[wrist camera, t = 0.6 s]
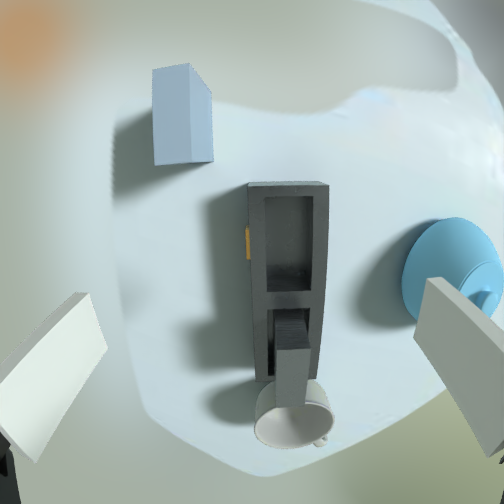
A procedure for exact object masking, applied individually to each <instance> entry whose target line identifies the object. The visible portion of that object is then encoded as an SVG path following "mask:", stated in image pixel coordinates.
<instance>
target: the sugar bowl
mask: <svg viewBox="0 0 504 504" xmlns="http://www.w3.org/2000/svg"><path fill="white" fill-rule="evenodd" d="M435 277H442V278H444V279H445V280H446V281H447V282H449V283H450V284H451V285H452V286H453V287H455V288H456V289H457V290H458V291H459V292H461V293H462V294H463V295H464V296H465V297H466V298H468V299H469V300H470V301H471V302H472V303H473V304H474V305H476V306H477V307H478V308H479V309H480V310H481V311H482V312H483V313H485V314H486V315H487V316H488V317H489V318H490V317H491V316H492V314H493V313H494V311H495V310H496V308H497V306H498V304H499V302H500V299H501V296H502V293H503V288H504V273H503V268H502V264H501V262H500V259H499V256H498V254H497V251H496V249H495V247H494V245H493V243H492V242H491V240H490V239H489V237H488V236H487V235H486V234H485V233H484V232H483V231H482V230H481V229H480V228H479V227H478V226H476V225H475V224H473V223H472V222H470V221H468V220H465V219H463V218H458V217H455V218H447V219H443V220H441V221H438V222H437V223H435V224H433V225H432V226H430V227H429V228H428V229H427V230H426V231H425V232H424V233H423V234H422V235H421V236H420V237H419V238H418V240H417V241H416V243H415V244H414V246H413V247H412V249H411V251H410V253H409V255H408V258H407V260H406V263H405V266H404V270H403V275H402V296H403V300H404V304H405V306H406V308H407V310H408V312H409V313H410V314H411V315H412V316H413V317H414V318H415V319H416V320H417V321H418V317H419V313H420V308H421V304H422V299H423V294H424V289H425V284H426V279H427V278H435Z"/></svg>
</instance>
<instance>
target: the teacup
mask: <svg viewBox="0 0 504 504" xmlns="http://www.w3.org/2000/svg"><path fill="white" fill-rule="evenodd" d="M334 421H335V418H334V414H333V412H332V410H331V407H330V404H329V401H328V399H327V396H326V394H325V392H324V390H323V388H322V387H321V386H320V385H319V384H318V383H317V382H316V381H314V380H312V379H310V380H308V383H307V391H306V399H305V406H303V407H287V408H276V401H275V381H273V382H271V383H269V384H268V385H266V386H265V387H264V388H263V389H262V390H261V392H260V393H259V395H258V397H257V400H256V406H255V425H254V432H255V435H256V437H257V439H258V440H260V441H261V442H262V443H264V444H265V445H268V446H270V447H274V448H279V449H294V448H300V447H304V446H307V445H310V444H312V443H313V444H314V445H315V446H316V447H322V446H324V445H326V444H327V441H328V438H327V434H328V433H329V432H330V430H331V429H332V427H333V425H334Z"/></svg>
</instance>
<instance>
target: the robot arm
mask: <svg viewBox="0 0 504 504" xmlns="http://www.w3.org/2000/svg"><path fill="white" fill-rule="evenodd" d="M413 338H414V340H415V341H416V342H417V344H418V345H419V347H420V348H421V350H422V351H423V352H424V354H425V355H426V357H427V358H428V360H429V361H430V363H431V364H432V366H433V367H434V369H435V370H436V372H437V373H438V375H439V376H440V378H441V379H442V381H443V383H444V384H445V386H446V387H447V389H448V390H449V392H450V394H451V395H452V397H453V398H454V400H455V402H456V403H457V405H458V407H459V408H460V410H461V412H462V413H463V415H464V417H465V418H466V420H467V422H468V423H469V425H470V427H471V429H472V431H473V432H474V434H475V436H476V438H477V440H478V441H479V443H480V445H481V447H482V449H483V451H484V453H485V455H486V457H487V458H489V457H490V456H492V455H494V454H495V453H497V452H499V451H500V450H502V449H503V448H504V331H503V330H502V329H501V328H500V327H499V326H498V325H496V324H495V323H494V322H493V321H492V320H491V319H490V318H489V317H488V316H487V315H486V314H485V313H483V312H482V311H481V310H480V309H479V308H478V307H477V306H476V305H474V304H473V303H472V302H471V301H470V300H469V299H468V298H466V297H465V296H464V295H463V294H462V293H461V292H459V291H458V290H457V289H456V288H455V287H453V286H452V285H451V284H450V283H449V282H447V281H446V280H445V279H444V278H442V277H435V278H427V279H426V284H425V289H424V294H423V299H422V304H421V308H420V313H419V317H418V321H417V325H416V329H415V333H414V337H413ZM107 349H108V347H107V345H106V342H105V339H104V337H103V334H102V332H101V328H100V325H99V323H98V320H97V317H96V314H95V311H94V307H93V304H92V301H91V298H90V294H89V293H74V294H73V295H72V296H71V297H70V298H69V299H68V300H66V301H65V302H64V303H63V304H62V305H61V306H60V307H58V308H57V309H56V310H55V311H54V312H53V313H52V314H51V315H50V316H49V317H48V318H46V320H44V321H43V322H42V323H41V324H40V325H39V326H38V327H37V328H36V329H35V330H34V331H33V332H32V333H31V334H29V336H27V337H26V338H25V339H24V340H23V341H22V342H21V343H20V344H19V345H18V346H17V347H16V348H15V349H14V350H13V351H12V353H10V354H9V355H8V357H7V358H6V359H5V360H4V361H3V362H2V363H1V364H0V504H21V501H20V496H19V491H18V485H17V479H16V473H15V466H14V458H13V454H12V452H11V451H10V449H9V447H10V445H12V446H13V447H14V448H15V449H16V451H18V453H19V454H20V455H21V456H23V457H25V458H27V459H28V460H30V461H32V462H34V463H36V462H37V460H38V459H39V457H40V455H41V453H42V452H43V450H44V448H45V446H46V444H47V443H48V441H49V439H50V438H51V436H52V434H53V432H54V431H55V429H56V427H57V426H58V424H59V422H60V421H61V419H62V418H63V416H64V414H65V413H66V411H67V410H68V408H69V406H70V405H71V403H72V402H73V400H74V399H75V397H76V395H77V394H78V392H79V391H80V389H81V388H82V386H83V385H84V383H85V382H86V380H87V379H88V377H89V375H90V374H91V372H92V371H93V370H94V368H95V367H96V365H97V364H98V362H99V361H100V359H101V358H102V356H103V355H104V353H105V352H106V351H107ZM503 462H504V456H503V457H502V458H501V460H500V463H499V464H502V463H503ZM500 504H504V491H503V495H502V499H501V503H500Z"/></svg>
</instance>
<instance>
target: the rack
mask: <svg viewBox="0 0 504 504" xmlns="http://www.w3.org/2000/svg"><path fill="white" fill-rule="evenodd" d="M247 191H248V215H249V225H246V229H245V233H246V255H247V259H250V263H251V286H252V309H253V332H254V355H255V377H256V382H271V381H275V401H276V408H287V407H303V406H305V399H306V391H307V383H308V380H310V379H316V376H317V369H318V361H319V353H320V344H321V335H322V325H323V314H324V302H325V289H326V274H327V255H328V230H329V185H327V184H324V183H322V182H319V181H284V182H249V184H248V186H247Z"/></svg>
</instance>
